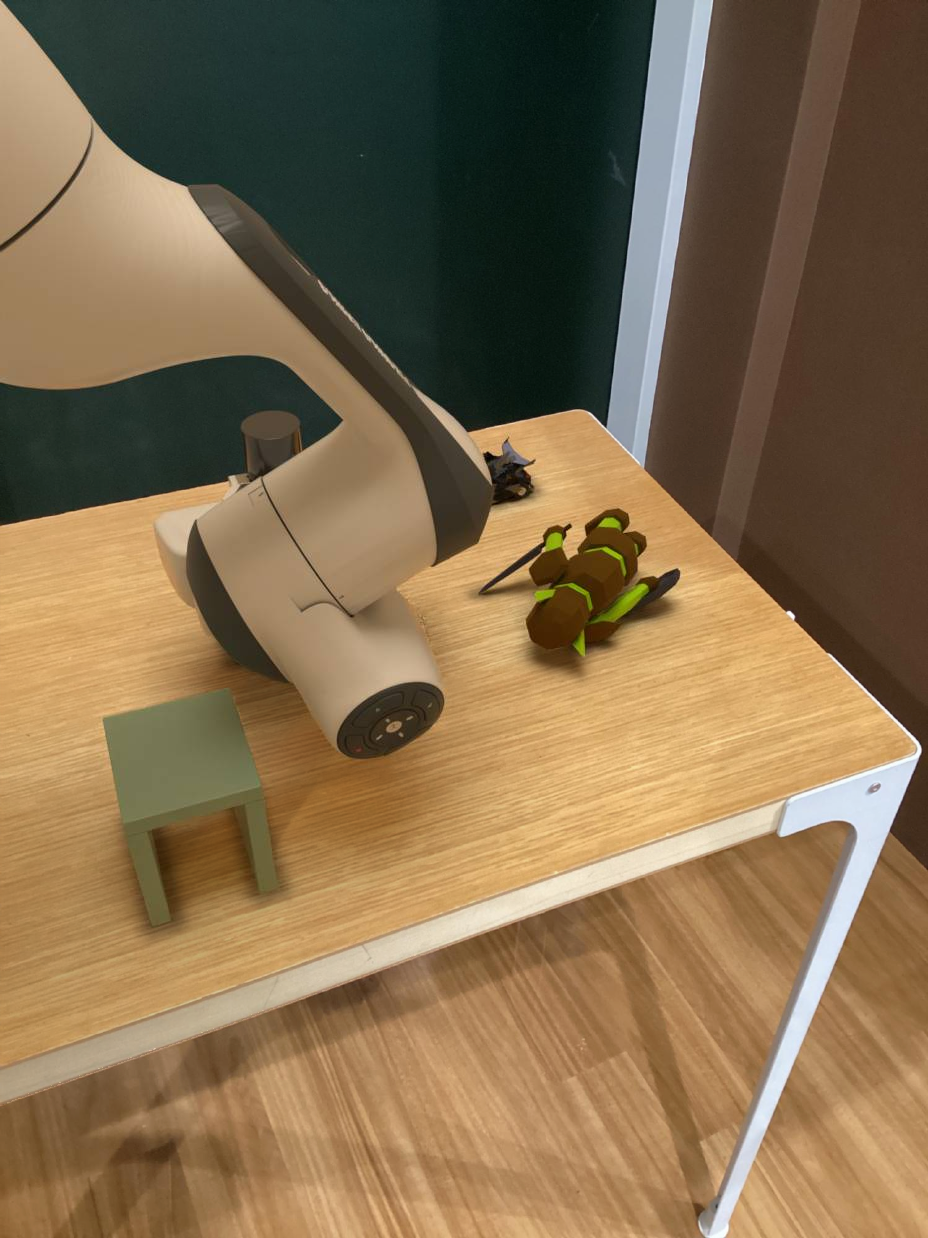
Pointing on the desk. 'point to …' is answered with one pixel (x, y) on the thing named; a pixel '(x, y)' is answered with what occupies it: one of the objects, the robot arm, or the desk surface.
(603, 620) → the goblin
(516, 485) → the toy car
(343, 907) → the desk surface
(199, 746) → the sage green stool
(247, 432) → the glossy brown cylinder
